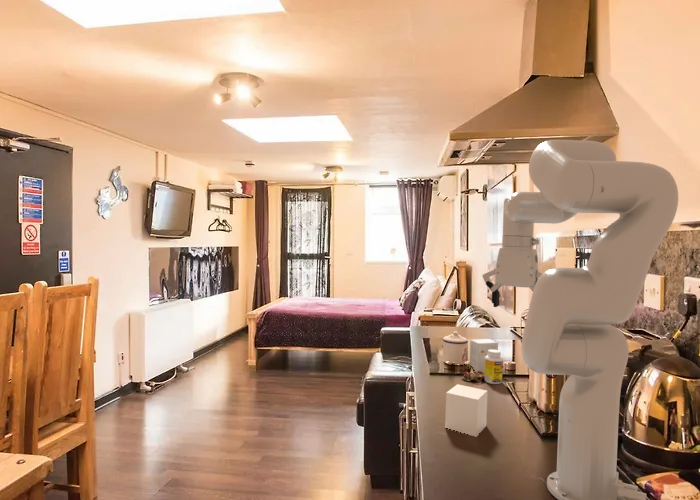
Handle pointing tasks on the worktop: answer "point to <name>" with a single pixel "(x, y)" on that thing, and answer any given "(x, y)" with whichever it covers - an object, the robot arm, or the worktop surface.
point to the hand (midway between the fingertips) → (515, 308)
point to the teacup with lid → (455, 348)
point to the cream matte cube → (466, 409)
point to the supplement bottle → (493, 367)
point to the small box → (480, 352)
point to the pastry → (474, 376)
